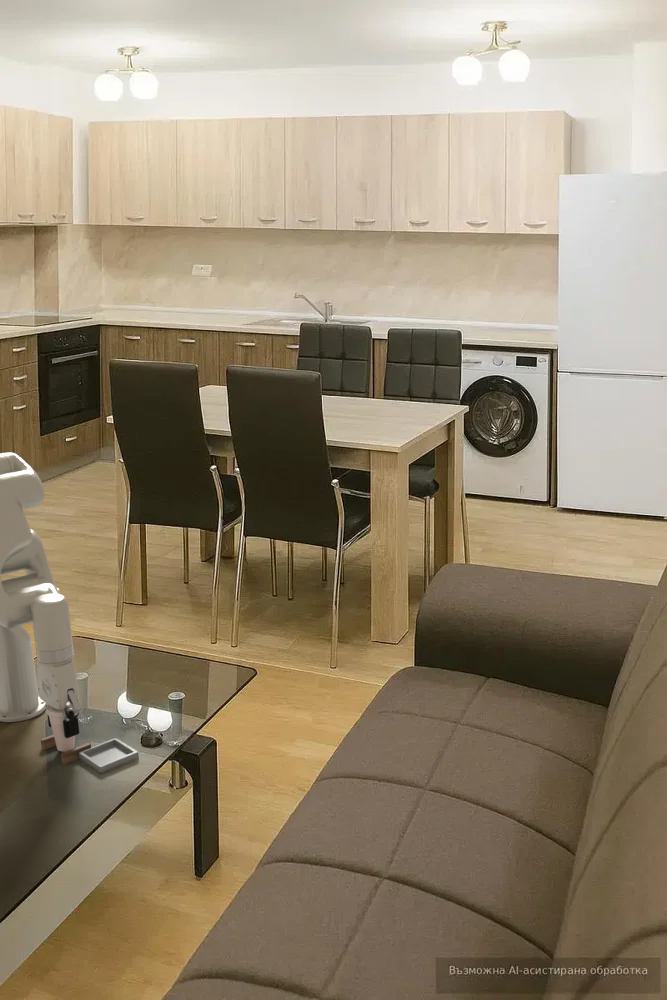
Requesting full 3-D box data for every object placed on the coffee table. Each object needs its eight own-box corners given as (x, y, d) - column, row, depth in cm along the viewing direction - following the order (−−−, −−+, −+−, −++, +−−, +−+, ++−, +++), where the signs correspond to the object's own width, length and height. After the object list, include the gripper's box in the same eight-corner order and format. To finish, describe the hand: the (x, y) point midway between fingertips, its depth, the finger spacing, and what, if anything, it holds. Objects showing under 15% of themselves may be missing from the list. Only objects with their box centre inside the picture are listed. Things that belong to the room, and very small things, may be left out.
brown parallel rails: (41, 748, 238) (40, 739, 237) (68, 738, 242) (67, 728, 241) (64, 764, 231) (63, 755, 230) (91, 753, 235) (90, 744, 234)
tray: (79, 759, 233) (78, 752, 232) (116, 744, 238) (115, 737, 238) (101, 774, 226) (100, 767, 226) (138, 758, 232) (138, 751, 231)
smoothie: (73, 755, 233) (66, 694, 229) (45, 753, 234) (38, 693, 230) (86, 740, 239) (79, 681, 235) (58, 738, 240) (51, 680, 236)
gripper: (19, 646, 234) (29, 723, 239) (58, 670, 222) (68, 750, 227) (51, 636, 239) (60, 711, 244) (91, 658, 227) (100, 737, 231)
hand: (63, 729), depth 235 cm, fingers closed on smoothie, 6 cm apart
